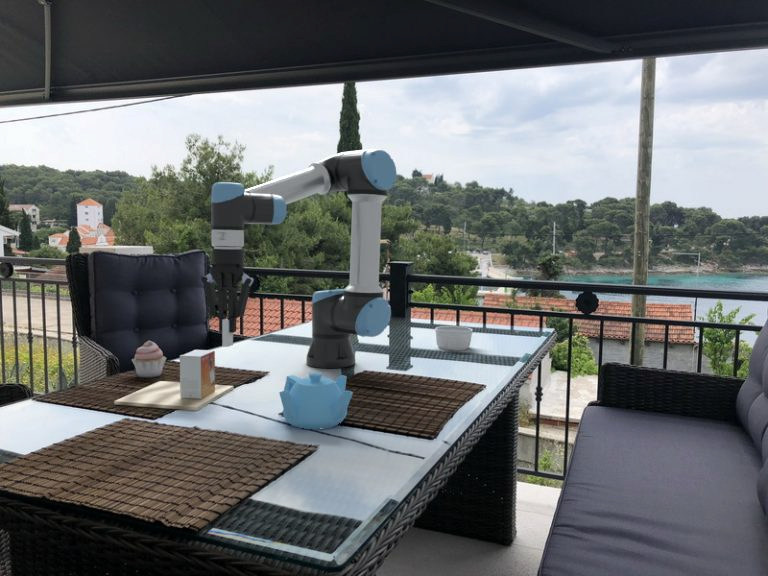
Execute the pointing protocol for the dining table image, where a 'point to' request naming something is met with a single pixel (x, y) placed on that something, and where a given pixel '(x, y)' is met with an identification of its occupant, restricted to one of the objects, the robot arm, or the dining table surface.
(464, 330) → the ramekin
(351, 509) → the dining table surface
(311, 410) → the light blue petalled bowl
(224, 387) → the birch board
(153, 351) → the cupcake
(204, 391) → the small box
